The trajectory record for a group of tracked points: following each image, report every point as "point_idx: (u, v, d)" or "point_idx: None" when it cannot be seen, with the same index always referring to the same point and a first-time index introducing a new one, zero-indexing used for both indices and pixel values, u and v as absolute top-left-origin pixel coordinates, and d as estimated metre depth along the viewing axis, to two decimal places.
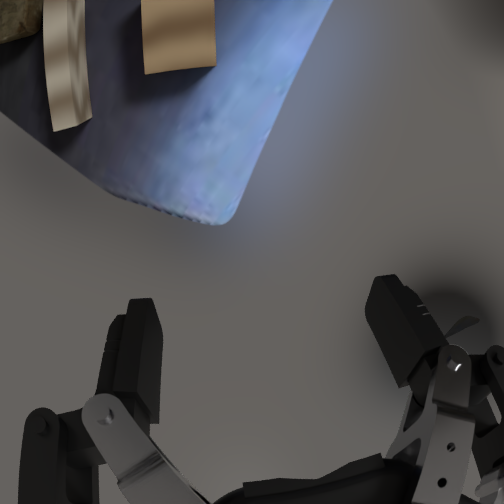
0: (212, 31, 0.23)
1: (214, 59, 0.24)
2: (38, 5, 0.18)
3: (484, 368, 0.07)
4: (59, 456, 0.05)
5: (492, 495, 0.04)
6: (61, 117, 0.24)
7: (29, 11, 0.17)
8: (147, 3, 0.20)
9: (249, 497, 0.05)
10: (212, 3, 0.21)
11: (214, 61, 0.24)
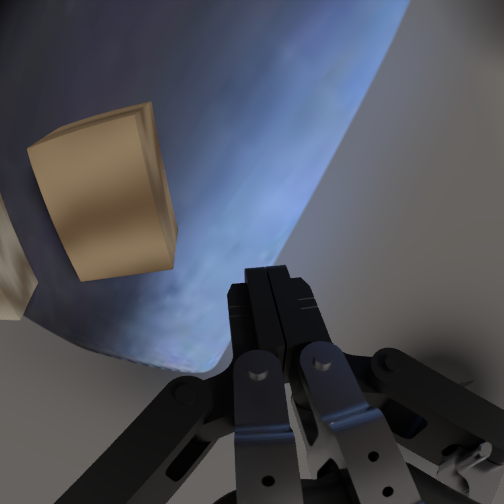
0: (154, 221, 0.17)
1: (168, 261, 0.19)
2: None
3: (377, 385, 0.07)
4: (189, 433, 0.06)
5: (462, 483, 0.04)
6: (1, 309, 0.19)
7: None
8: (45, 179, 0.14)
9: None
10: (143, 171, 0.15)
11: (168, 263, 0.19)
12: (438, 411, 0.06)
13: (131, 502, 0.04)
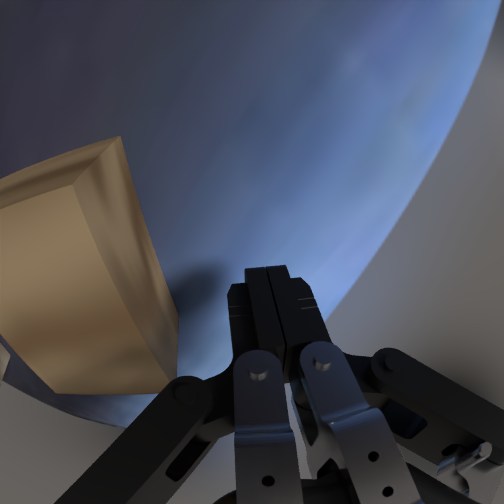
0: (139, 345, 0.10)
1: None
2: None
3: (377, 385, 0.07)
4: (189, 433, 0.06)
5: (462, 483, 0.04)
6: None
7: None
8: None
9: None
10: (108, 281, 0.08)
11: None
12: (438, 411, 0.06)
13: (131, 502, 0.04)
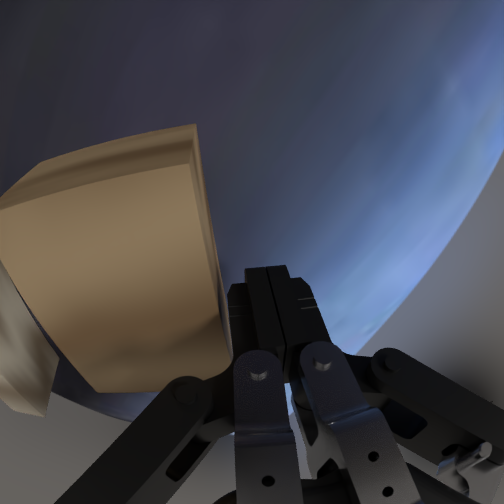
0: (216, 336, 0.10)
1: None
2: None
3: (377, 385, 0.07)
4: (189, 433, 0.06)
5: (462, 483, 0.04)
6: (16, 404, 0.13)
7: None
8: (19, 270, 0.08)
9: None
10: (203, 269, 0.09)
11: None
12: (438, 411, 0.06)
13: (131, 502, 0.04)
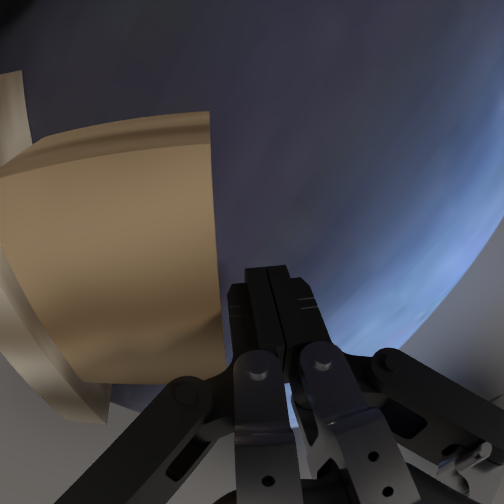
0: (214, 329, 0.10)
1: None
2: None
3: (377, 385, 0.07)
4: (189, 433, 0.06)
5: (462, 483, 0.04)
6: (73, 413, 0.13)
7: None
8: (14, 245, 0.07)
9: None
10: (210, 256, 0.08)
11: None
12: (438, 411, 0.06)
13: (131, 502, 0.04)
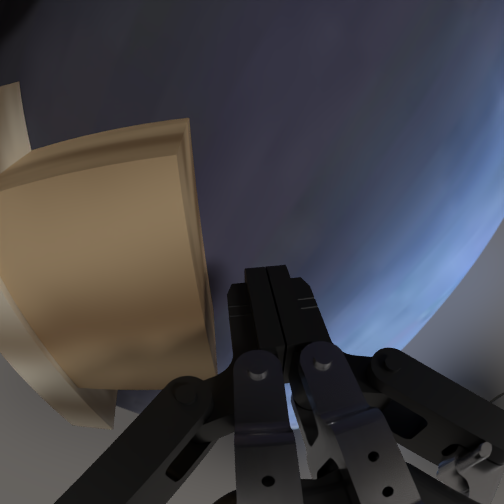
0: (199, 337, 0.10)
1: None
2: None
3: (377, 385, 0.07)
4: (189, 433, 0.06)
5: (462, 483, 0.04)
6: (79, 418, 0.13)
7: None
8: (3, 258, 0.07)
9: None
10: (187, 265, 0.08)
11: None
12: (438, 411, 0.06)
13: (131, 502, 0.04)
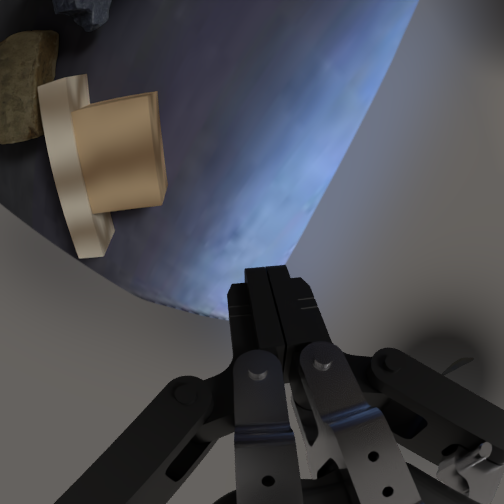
0: (152, 167, 0.24)
1: (159, 198, 0.26)
2: None
3: (377, 385, 0.07)
4: (189, 433, 0.06)
5: (462, 483, 0.04)
6: (85, 246, 0.27)
7: (39, 111, 0.20)
8: (81, 134, 0.21)
9: None
10: (149, 132, 0.22)
11: (159, 200, 0.26)
12: (438, 411, 0.06)
13: (131, 502, 0.04)
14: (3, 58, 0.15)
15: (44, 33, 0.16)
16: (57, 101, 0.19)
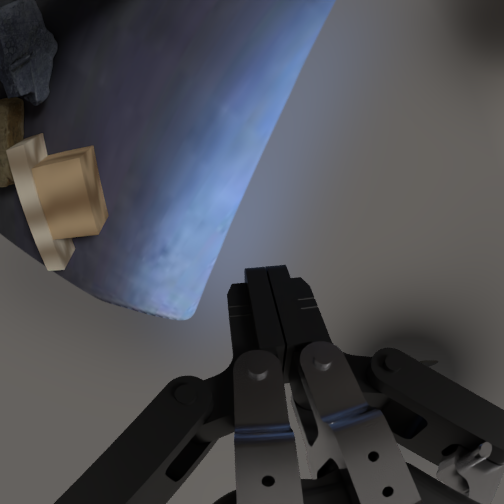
0: (89, 208, 0.31)
1: (96, 229, 0.33)
2: None
3: (377, 385, 0.07)
4: (189, 433, 0.06)
5: (462, 483, 0.04)
6: (51, 262, 0.34)
7: None
8: (39, 184, 0.28)
9: None
10: (83, 183, 0.30)
11: (96, 231, 0.33)
12: (438, 411, 0.06)
13: (131, 502, 0.04)
14: None
15: (10, 106, 0.23)
16: (20, 161, 0.26)
